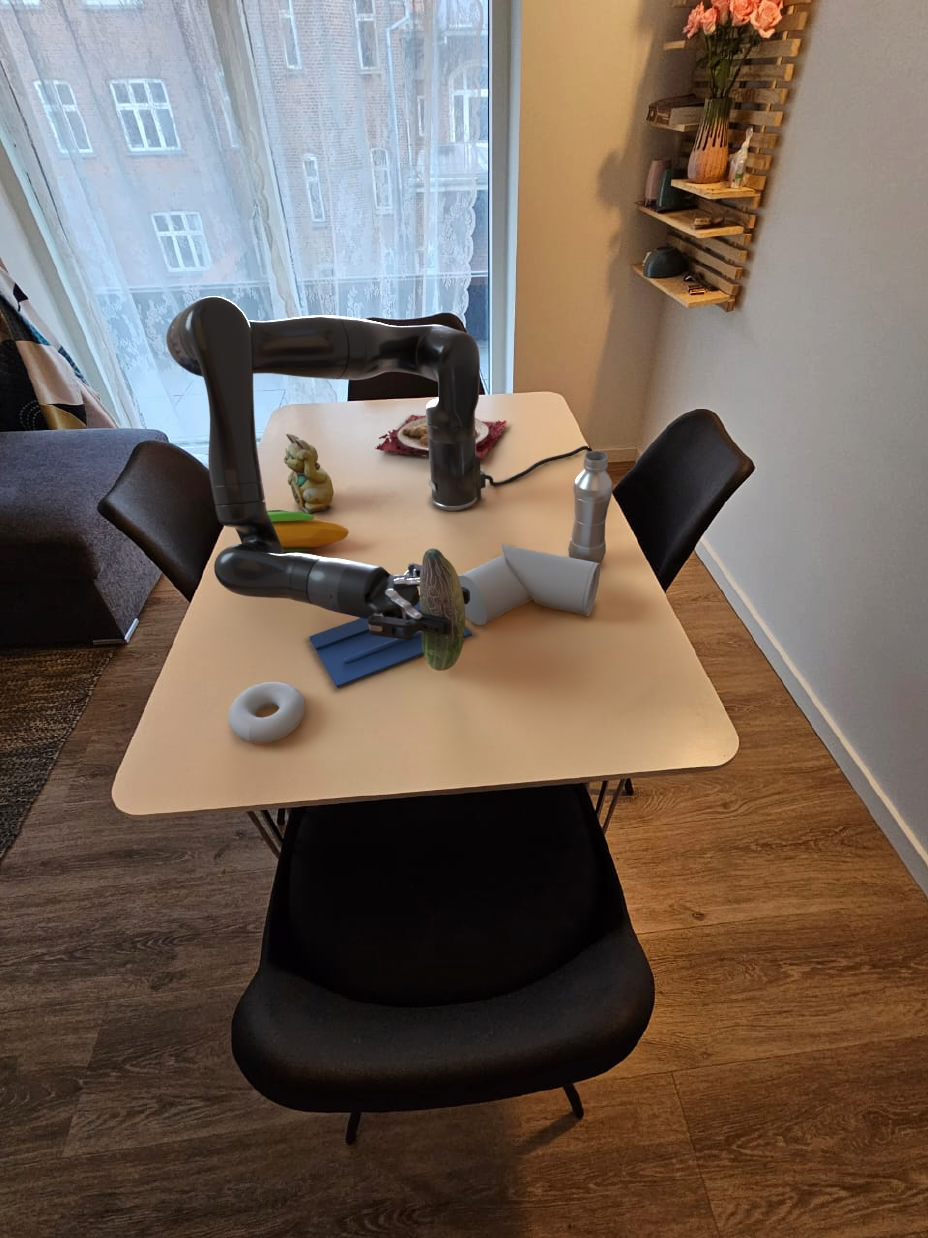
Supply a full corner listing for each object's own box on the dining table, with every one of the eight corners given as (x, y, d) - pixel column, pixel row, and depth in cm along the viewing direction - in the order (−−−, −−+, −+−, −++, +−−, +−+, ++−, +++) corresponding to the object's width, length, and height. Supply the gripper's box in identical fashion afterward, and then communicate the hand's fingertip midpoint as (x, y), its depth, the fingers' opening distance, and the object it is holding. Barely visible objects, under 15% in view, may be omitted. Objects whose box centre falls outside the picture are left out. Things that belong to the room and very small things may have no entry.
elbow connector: (538, 552, 115) (447, 596, 106) (549, 505, 107) (452, 549, 98) (608, 616, 106) (516, 670, 97) (627, 571, 98) (528, 625, 89)
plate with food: (481, 467, 145) (481, 452, 143) (375, 453, 151) (373, 439, 149) (507, 426, 162) (508, 413, 160) (411, 415, 169) (411, 402, 166)
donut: (310, 691, 92) (239, 696, 91) (306, 673, 90) (233, 678, 89) (303, 746, 84) (224, 752, 84) (298, 728, 82) (218, 734, 81)
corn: (243, 501, 120) (349, 501, 118) (254, 534, 125) (356, 535, 124) (230, 524, 114) (341, 524, 113) (242, 558, 120) (348, 559, 118)
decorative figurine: (287, 503, 135) (270, 433, 125) (321, 489, 139) (308, 421, 129) (310, 520, 129) (295, 449, 120) (345, 505, 133) (334, 435, 124)
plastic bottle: (607, 554, 116) (620, 449, 103) (600, 575, 111) (613, 467, 98) (571, 548, 118) (580, 444, 105) (563, 569, 113) (571, 462, 100)
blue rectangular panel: (436, 595, 108) (436, 590, 107) (471, 635, 100) (471, 630, 99) (310, 640, 100) (308, 635, 100) (337, 688, 92) (335, 682, 91)
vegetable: (439, 645, 97) (431, 531, 84) (476, 659, 94) (473, 543, 81) (417, 670, 93) (404, 554, 80) (454, 685, 90) (448, 568, 77)
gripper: (317, 596, 83) (437, 623, 78) (369, 538, 94) (478, 559, 89) (327, 639, 88) (440, 668, 83) (375, 580, 98) (479, 602, 93)
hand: (459, 611), depth 86 cm, fingers closed on vegetable, 6 cm apart
